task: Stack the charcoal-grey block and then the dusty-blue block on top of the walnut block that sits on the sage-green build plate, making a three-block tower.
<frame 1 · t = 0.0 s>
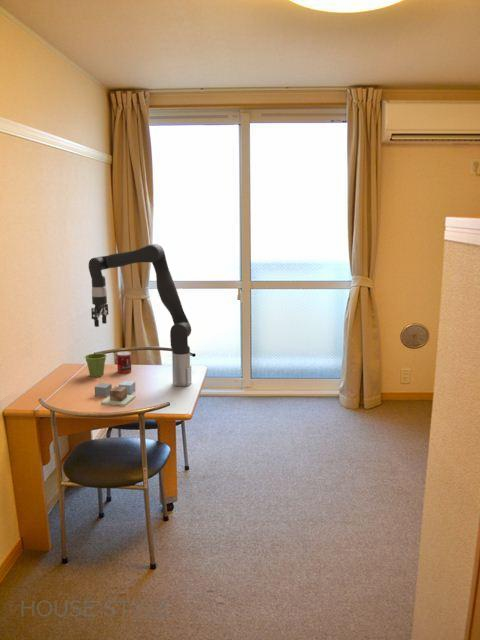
hand: (100, 325, 274), 29 cm above the table, fingers open, 8 cm apart
grey block: (103, 394, 254), on the table
plant pot: (96, 375, 283), on the table
blue block: (127, 392, 257), on the table
walnut block: (118, 398, 246), point 1 cm above the table, touching build plate
build plate: (118, 400, 246), on the table
canned food: (124, 372, 290), on the table
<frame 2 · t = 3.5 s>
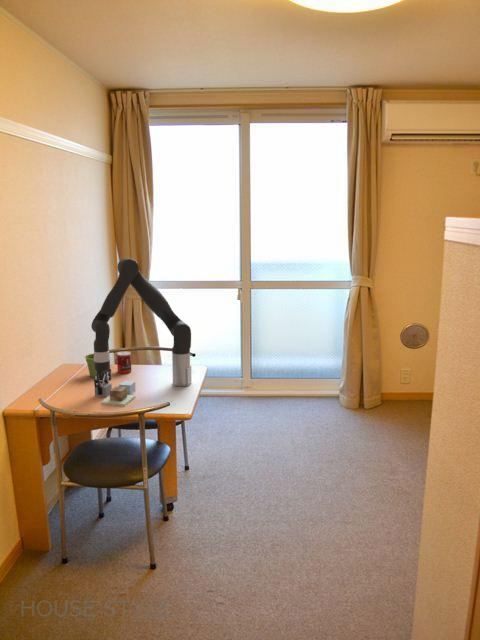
hand: (103, 392, 253), 1 cm above the table, fingers closed on grey block, 6 cm apart
grey block: (103, 394, 254), on the table, touching gripper
everything else where it was.
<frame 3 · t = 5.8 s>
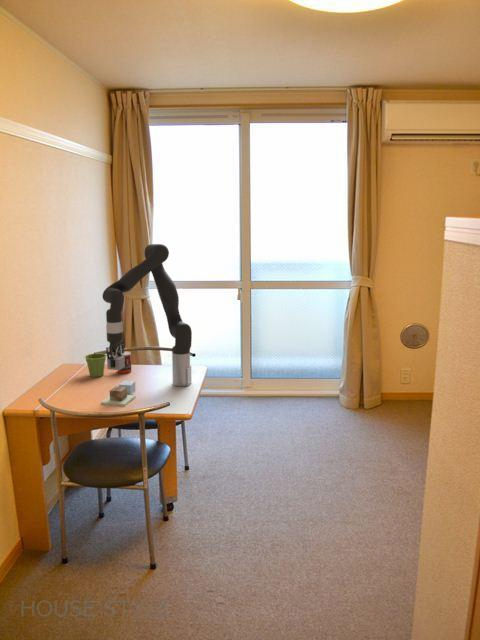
hand: (116, 365, 243), 17 cm above the table, fingers closed on grey block, 6 cm apart
grey block: (116, 367, 243), point 16 cm above the table, touching gripper
everything else where it was.
when the fingers open (8 cm above the table, at t = 8.2 s): grey block stays where it is, resting on walnut block.
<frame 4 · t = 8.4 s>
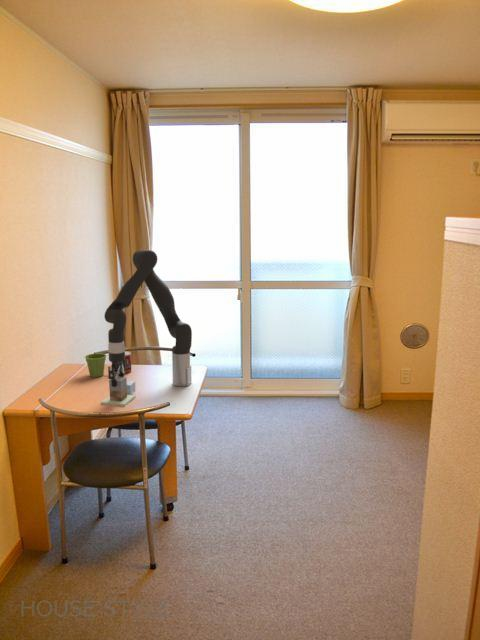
hand: (118, 383, 244), 8 cm above the table, fingers open, 7 cm apart
grey block: (118, 388, 245), point 6 cm above the table, touching walnut block
walnut block: (118, 398, 246), point 1 cm above the table, touching build plate, grey block
everything else where it was.
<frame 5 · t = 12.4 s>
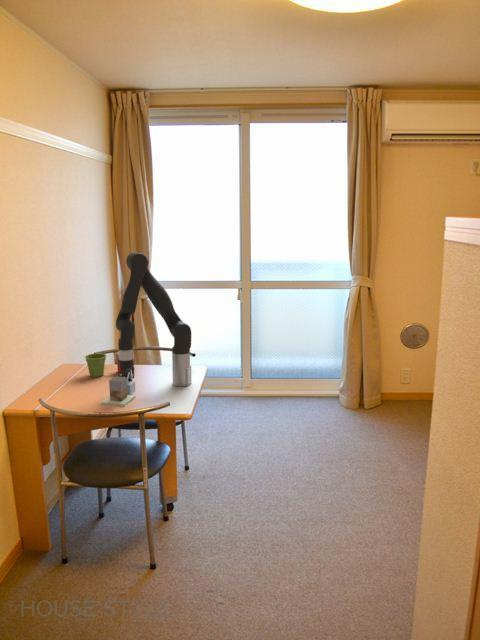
hand: (127, 390, 257), 1 cm above the table, fingers closed on blue block, 6 cm apart
blue block: (127, 392, 257), on the table, touching gripper
everything else where it was.
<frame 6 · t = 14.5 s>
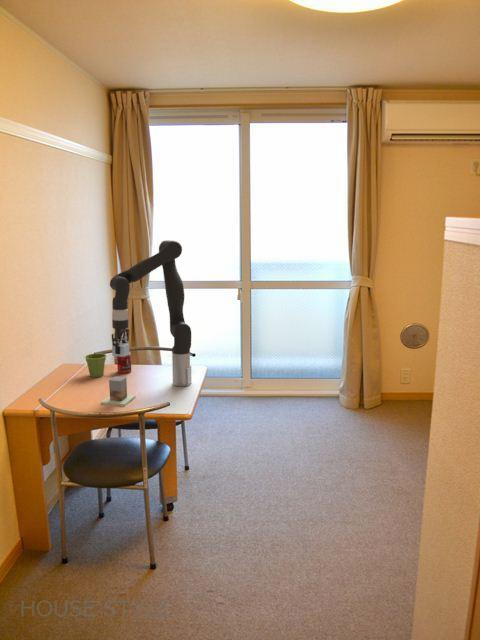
hand: (120, 352, 248), 22 cm above the table, fingers closed on blue block, 6 cm apart
blue block: (120, 354, 248), point 21 cm above the table, touching gripper
everything else where it was.
when the fingers open (13 cm above the table, at t = 17.0 s): blue block stays where it is, resting on grey block.
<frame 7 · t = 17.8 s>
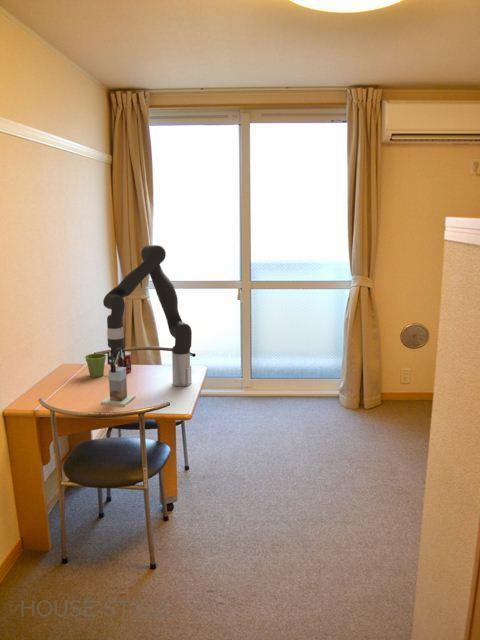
hand: (117, 369, 244), 15 cm above the table, fingers open, 8 cm apart
grey block: (118, 388, 244), point 6 cm above the table, touching blue block, walnut block
blue block: (117, 378, 244), point 11 cm above the table, touching grey block, gripper
everything else where it was.
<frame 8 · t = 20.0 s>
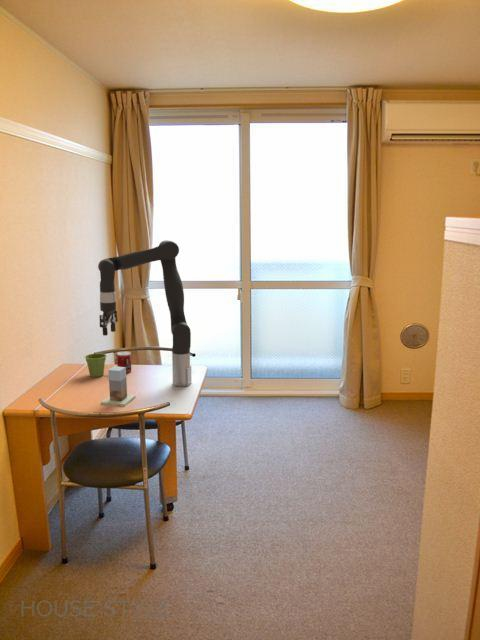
hand: (109, 333, 252), 30 cm above the table, fingers open, 8 cm apart
blue block: (117, 378, 244), point 11 cm above the table, touching grey block
everything else where it was.
at the end: grey block 0.0 cm off-centre on the walnut block, point 5.0 cm above the walnut block's base; blue block 0.2 cm off-centre on the grey block, point 5.0 cm above the grey block's base; blue block tilted 0° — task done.
